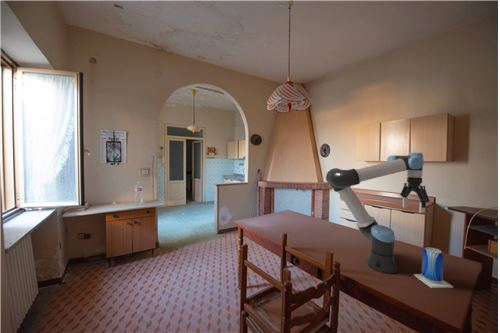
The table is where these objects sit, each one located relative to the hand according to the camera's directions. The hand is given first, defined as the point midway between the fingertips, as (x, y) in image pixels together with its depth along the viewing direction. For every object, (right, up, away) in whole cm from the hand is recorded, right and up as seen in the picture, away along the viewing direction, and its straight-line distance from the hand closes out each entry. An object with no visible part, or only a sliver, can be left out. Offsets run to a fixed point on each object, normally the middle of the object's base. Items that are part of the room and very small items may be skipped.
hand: (413, 209), depth 134 cm
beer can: (-8, -33, -23) cm, 40 cm away
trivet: (-8, -33, -23) cm, 41 cm away
